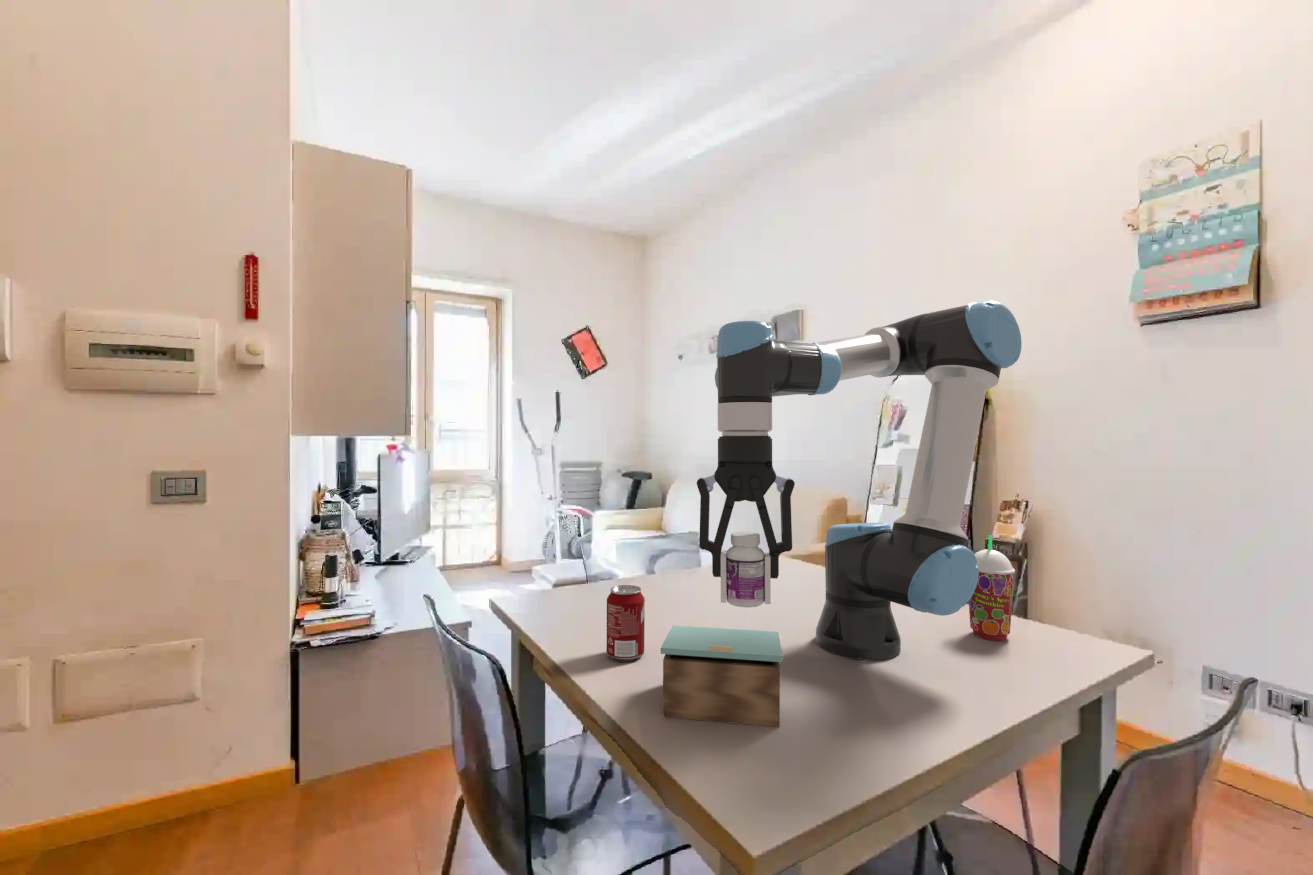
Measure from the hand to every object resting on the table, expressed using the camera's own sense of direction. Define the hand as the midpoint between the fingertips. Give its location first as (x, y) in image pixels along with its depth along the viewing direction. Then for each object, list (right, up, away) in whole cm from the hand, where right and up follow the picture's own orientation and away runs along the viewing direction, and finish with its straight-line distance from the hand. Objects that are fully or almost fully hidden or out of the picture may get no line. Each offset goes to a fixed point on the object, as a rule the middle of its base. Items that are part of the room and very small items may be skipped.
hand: (745, 600), depth 80 cm
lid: (-3, -8, +4) cm, 9 cm away
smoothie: (+54, -17, +34) cm, 66 cm away
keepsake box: (-3, -16, +5) cm, 17 cm away
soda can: (-18, -16, +22) cm, 33 cm away
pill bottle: (0, 0, 0) cm, 0 cm away
